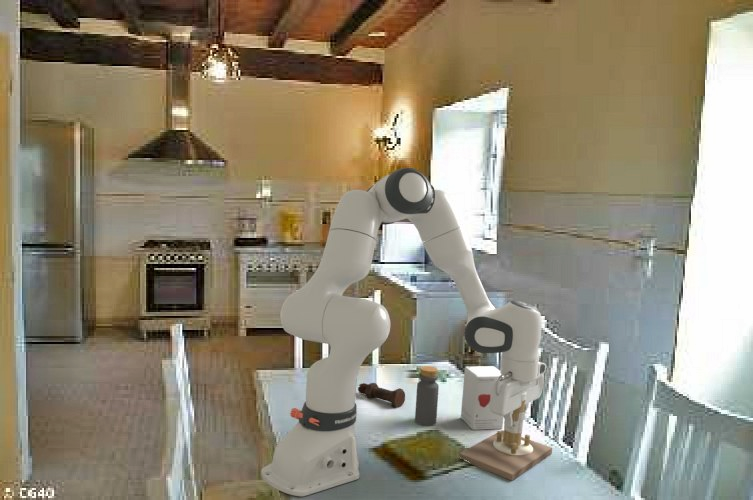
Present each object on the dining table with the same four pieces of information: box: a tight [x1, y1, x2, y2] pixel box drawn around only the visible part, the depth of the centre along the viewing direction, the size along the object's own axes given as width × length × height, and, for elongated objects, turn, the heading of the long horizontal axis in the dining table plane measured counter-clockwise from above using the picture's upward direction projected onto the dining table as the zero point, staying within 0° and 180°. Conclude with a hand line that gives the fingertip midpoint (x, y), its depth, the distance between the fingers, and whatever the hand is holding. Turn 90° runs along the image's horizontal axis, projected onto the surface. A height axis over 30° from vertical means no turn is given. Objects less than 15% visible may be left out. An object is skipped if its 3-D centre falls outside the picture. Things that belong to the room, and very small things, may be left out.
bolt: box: [357, 382, 406, 409], centre depth 175 cm, size 6×5×15 cm
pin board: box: [458, 429, 553, 481], centre depth 142 cm, size 20×14×4 cm
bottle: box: [414, 365, 440, 427], centre depth 160 cm, size 6×6×15 cm
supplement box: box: [460, 365, 504, 431], centre depth 161 cm, size 9×9×15 cm
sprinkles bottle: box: [503, 392, 527, 446], centre depth 143 cm, size 5×5×13 cm
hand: (514, 423), depth 143 cm, fingers closed on sprinkles bottle, 4 cm apart
